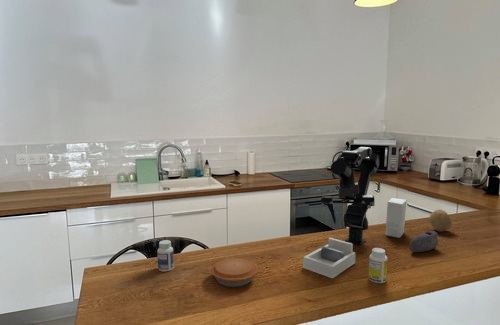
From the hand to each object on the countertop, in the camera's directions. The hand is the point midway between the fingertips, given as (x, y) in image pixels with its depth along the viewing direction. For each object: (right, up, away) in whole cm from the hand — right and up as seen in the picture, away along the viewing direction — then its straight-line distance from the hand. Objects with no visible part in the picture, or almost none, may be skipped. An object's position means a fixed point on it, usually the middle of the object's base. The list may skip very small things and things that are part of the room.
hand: (348, 224), depth 126 cm
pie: (-41, -16, -11) cm, 45 cm away
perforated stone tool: (+33, -13, +12) cm, 37 cm away
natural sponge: (+51, -9, +35) cm, 63 cm away
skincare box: (+29, -10, +30) cm, 43 cm away
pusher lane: (-7, -15, -1) cm, 16 cm away
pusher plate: (-6, -13, 0) cm, 14 cm away
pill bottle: (-65, -15, -3) cm, 67 cm away
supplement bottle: (+6, -16, -12) cm, 21 cm away
